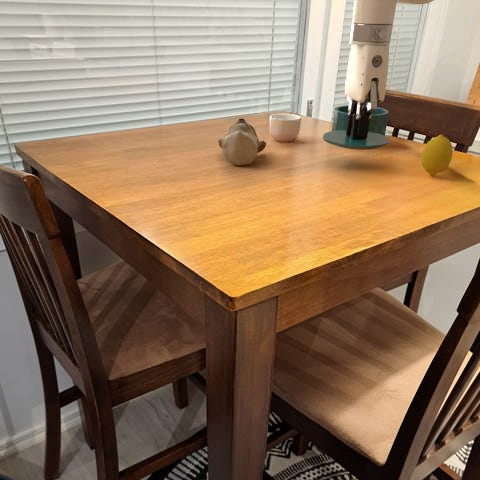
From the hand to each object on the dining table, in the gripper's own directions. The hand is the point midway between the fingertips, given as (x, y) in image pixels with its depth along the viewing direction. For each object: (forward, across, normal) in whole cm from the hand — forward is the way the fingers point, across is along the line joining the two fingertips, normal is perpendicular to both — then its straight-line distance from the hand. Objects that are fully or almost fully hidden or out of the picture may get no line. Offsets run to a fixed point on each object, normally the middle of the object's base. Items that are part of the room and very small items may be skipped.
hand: (356, 136), depth 103 cm
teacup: (+6, +24, +9) cm, 26 cm away
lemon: (+6, -10, -13) cm, 17 cm away
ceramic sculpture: (+6, +7, +23) cm, 25 cm away
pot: (+6, +18, -8) cm, 21 cm away
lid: (+1, 0, 0) cm, 1 cm away
